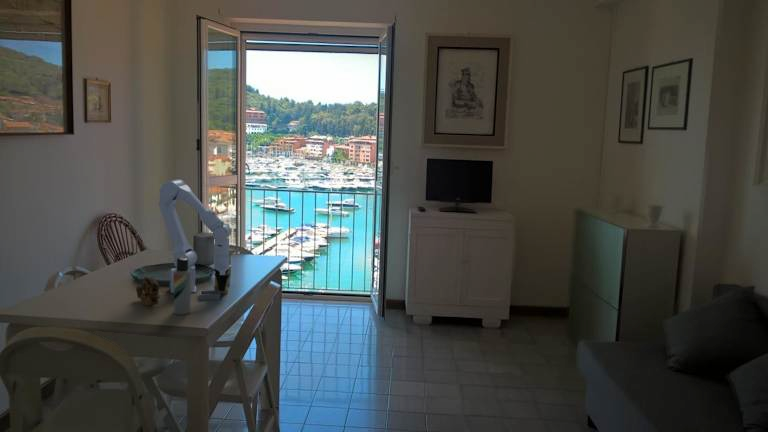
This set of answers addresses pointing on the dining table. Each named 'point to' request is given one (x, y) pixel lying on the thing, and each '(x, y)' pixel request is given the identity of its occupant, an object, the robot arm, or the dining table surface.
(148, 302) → the wooden carving
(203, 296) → the end cap
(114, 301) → the dining table surface
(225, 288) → the tan brown block
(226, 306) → the dining table surface
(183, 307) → the lotion bottle
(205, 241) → the pillar candle
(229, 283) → the handle
